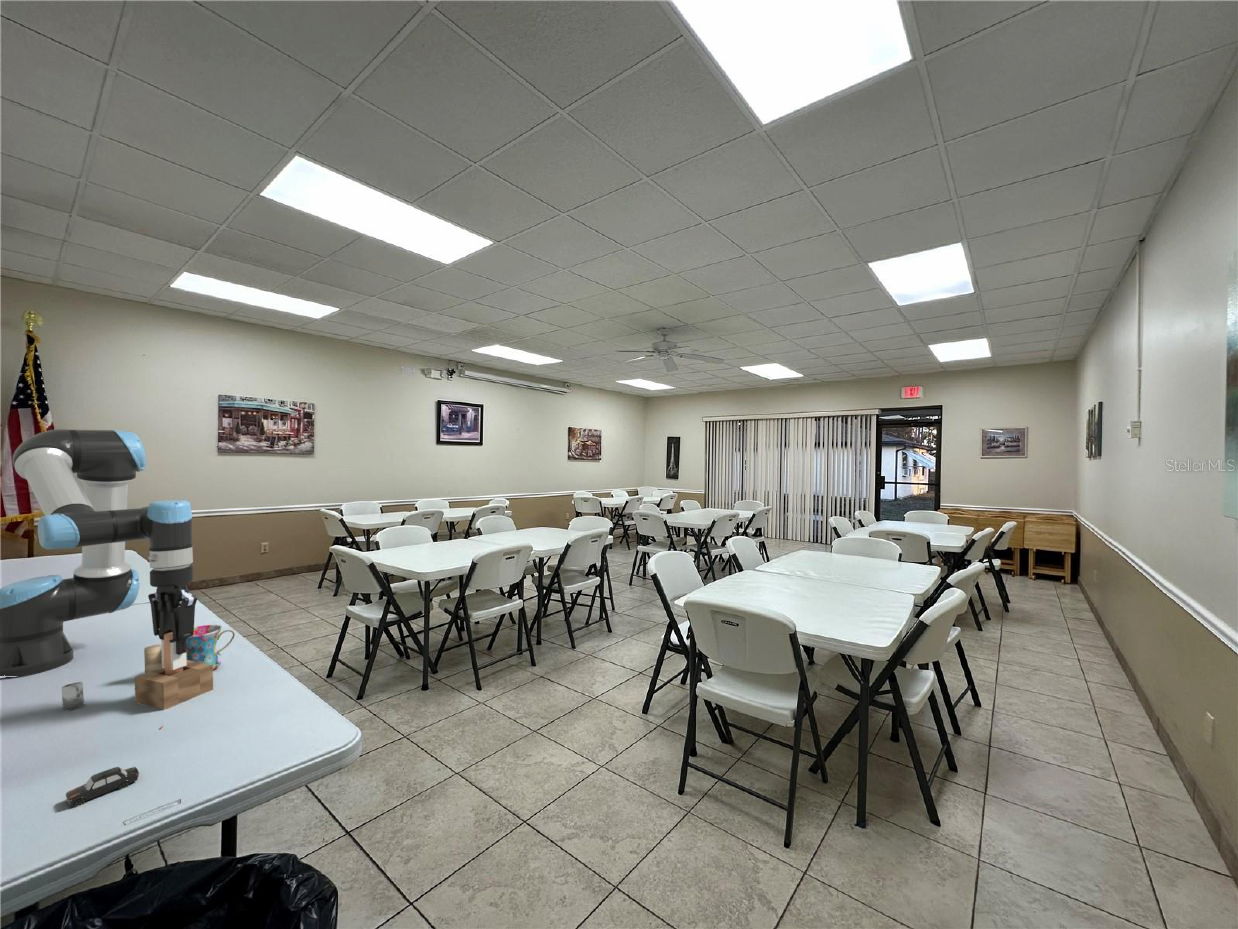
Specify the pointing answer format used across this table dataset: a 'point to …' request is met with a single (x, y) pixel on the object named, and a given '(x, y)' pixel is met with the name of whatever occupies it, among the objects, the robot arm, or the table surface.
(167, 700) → the block
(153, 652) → the medium pin
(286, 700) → the table surface
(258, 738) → the table surface
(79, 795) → the toy car
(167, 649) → the long pin
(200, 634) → the mug
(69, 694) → the short pin
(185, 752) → the table surface
